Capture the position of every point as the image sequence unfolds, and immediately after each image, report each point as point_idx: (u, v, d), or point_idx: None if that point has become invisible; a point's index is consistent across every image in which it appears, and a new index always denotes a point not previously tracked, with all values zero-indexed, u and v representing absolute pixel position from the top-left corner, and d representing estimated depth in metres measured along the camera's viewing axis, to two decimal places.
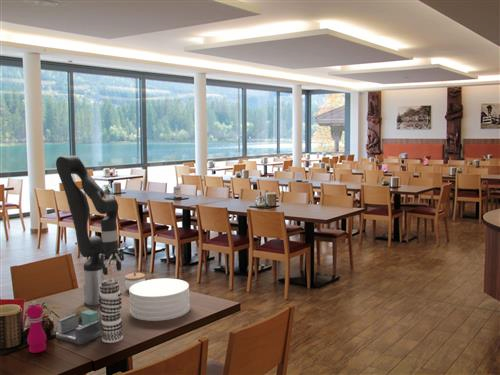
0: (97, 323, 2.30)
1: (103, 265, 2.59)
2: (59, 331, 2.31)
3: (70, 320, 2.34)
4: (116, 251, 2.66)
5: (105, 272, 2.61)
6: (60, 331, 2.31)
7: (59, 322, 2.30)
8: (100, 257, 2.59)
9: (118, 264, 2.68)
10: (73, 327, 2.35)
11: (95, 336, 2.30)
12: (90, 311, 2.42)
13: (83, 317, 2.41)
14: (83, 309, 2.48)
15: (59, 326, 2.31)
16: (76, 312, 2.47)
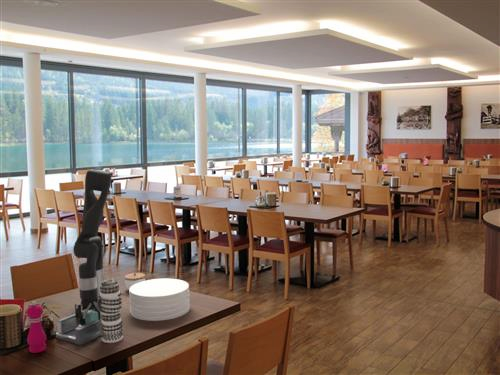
0: (97, 323, 2.30)
1: (81, 316, 2.35)
2: (59, 331, 2.31)
3: (70, 320, 2.34)
4: (95, 299, 2.42)
5: (83, 323, 2.37)
6: (60, 331, 2.31)
7: (59, 322, 2.30)
8: (77, 308, 2.35)
9: None
10: (73, 327, 2.35)
11: (95, 336, 2.30)
12: (90, 311, 2.42)
13: None
14: None
15: (59, 326, 2.31)
16: None
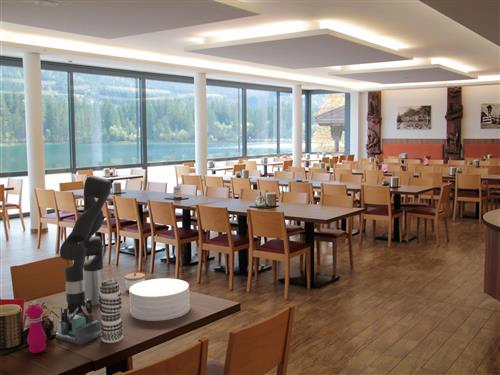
0: (97, 323, 2.30)
1: (66, 321, 2.24)
2: (59, 331, 2.31)
3: None
4: (83, 303, 2.31)
5: (69, 328, 2.26)
6: (60, 331, 2.31)
7: (59, 322, 2.30)
8: (63, 312, 2.24)
9: None
10: None
11: (95, 336, 2.30)
12: (77, 316, 2.31)
13: None
14: None
15: (58, 326, 2.31)
16: None
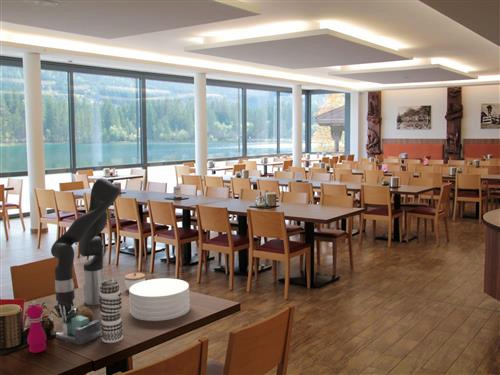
0: (97, 323, 2.30)
1: (59, 316, 2.34)
2: (65, 332, 2.29)
3: None
4: (68, 304, 2.31)
5: None
6: (66, 333, 2.29)
7: (65, 324, 2.28)
8: None
9: None
10: None
11: (95, 336, 2.30)
12: (80, 317, 2.30)
13: (73, 323, 2.29)
14: (82, 308, 2.49)
15: (64, 328, 2.29)
16: None
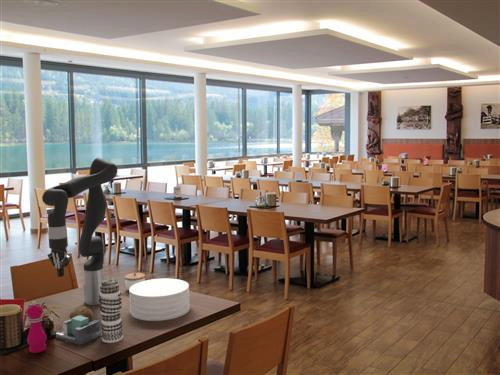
0: (97, 323, 2.30)
1: (53, 264, 2.33)
2: (65, 332, 2.29)
3: None
4: (61, 251, 2.29)
5: (57, 273, 2.33)
6: (66, 333, 2.29)
7: (65, 324, 2.28)
8: None
9: None
10: None
11: (95, 336, 2.30)
12: (80, 317, 2.30)
13: (73, 323, 2.29)
14: (82, 308, 2.50)
15: (64, 328, 2.29)
16: (75, 311, 2.48)
